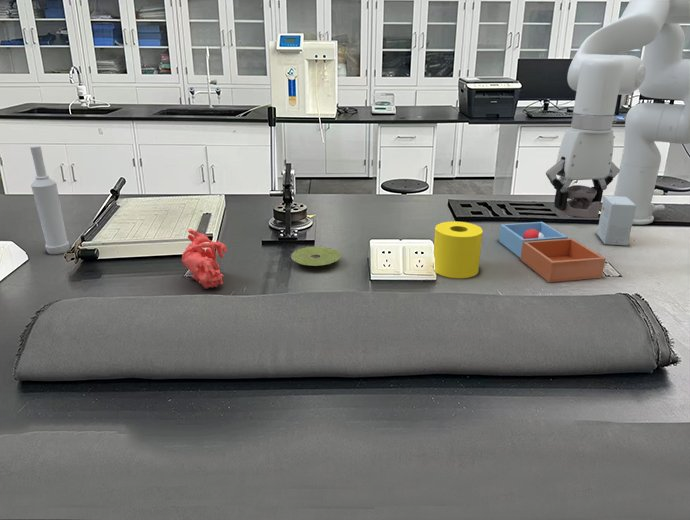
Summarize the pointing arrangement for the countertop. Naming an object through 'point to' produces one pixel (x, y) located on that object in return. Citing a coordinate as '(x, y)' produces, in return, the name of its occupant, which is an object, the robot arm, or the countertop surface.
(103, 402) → the countertop surface
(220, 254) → the anatomical heart
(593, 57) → the robot arm
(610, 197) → the small box
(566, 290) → the countertop surface
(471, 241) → the tape roll
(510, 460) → the countertop surface
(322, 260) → the green sanding disc
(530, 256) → the bin
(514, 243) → the blue bin
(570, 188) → the dental mold
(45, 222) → the bottle
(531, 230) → the molecule
